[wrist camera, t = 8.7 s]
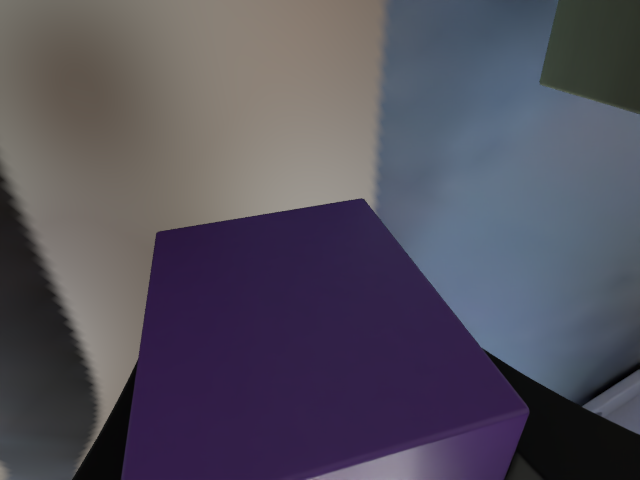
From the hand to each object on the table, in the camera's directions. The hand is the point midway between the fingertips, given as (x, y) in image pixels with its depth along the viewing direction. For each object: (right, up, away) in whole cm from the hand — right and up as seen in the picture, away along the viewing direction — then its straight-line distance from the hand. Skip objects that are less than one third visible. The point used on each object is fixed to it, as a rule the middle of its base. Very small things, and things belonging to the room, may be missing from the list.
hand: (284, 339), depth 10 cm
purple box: (0, 0, +1) cm, 1 cm away
